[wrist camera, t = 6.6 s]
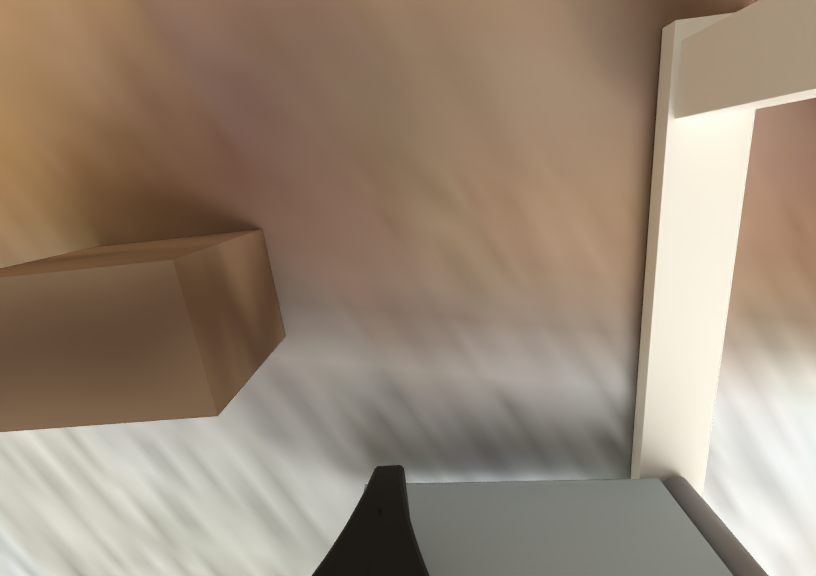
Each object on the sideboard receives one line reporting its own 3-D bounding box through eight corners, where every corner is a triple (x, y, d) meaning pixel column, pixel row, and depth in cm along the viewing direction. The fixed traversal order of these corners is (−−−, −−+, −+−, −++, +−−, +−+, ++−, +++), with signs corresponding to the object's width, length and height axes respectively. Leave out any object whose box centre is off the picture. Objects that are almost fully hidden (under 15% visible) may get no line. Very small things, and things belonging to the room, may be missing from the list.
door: (690, 475, 14) (831, 637, 9) (683, 516, 15) (813, 688, 10) (365, 482, 15) (336, 635, 10) (370, 520, 16) (344, 683, 11)
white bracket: (686, 526, 16) (811, 695, 11) (626, 529, 16) (722, 697, 11) (750, 16, 11) (1051, -127, 6) (662, 28, 11) (874, -101, 6)
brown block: (286, 335, 14) (217, 415, 10) (134, 348, 15) (-4, 432, 10) (263, 228, 13) (172, 259, 8) (99, 246, 14) (-75, 285, 9)
